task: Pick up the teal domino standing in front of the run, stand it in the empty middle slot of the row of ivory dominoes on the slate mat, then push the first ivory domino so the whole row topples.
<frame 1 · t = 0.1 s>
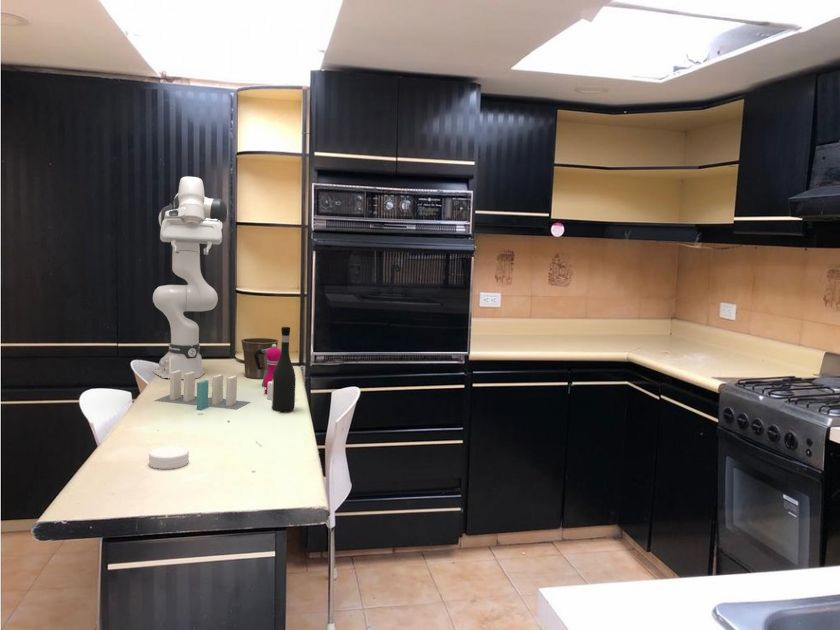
hand: (191, 253, 228), 54 cm above the table, tool tilted 30°, fingers open, 8 cm apart
ivory domino 2: (189, 399, 244), resting on slate mat
plant pot: (258, 376, 294), on the table
wine bottle: (282, 410, 239), on the table
coaster: (168, 464, 178), on the table
pepper mill: (272, 394, 262), on the table
ivory domino 4: (217, 402, 243), resting on slate mat
slate mat: (203, 402, 244), on the table
ivory domino 5: (231, 404, 242), resting on slate mat
teal domino: (202, 409, 234), on the table
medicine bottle: (280, 401, 253), on the table
ivory domino 1: (175, 398, 245), resting on slate mat
coffeepot: (270, 386, 276), on the table
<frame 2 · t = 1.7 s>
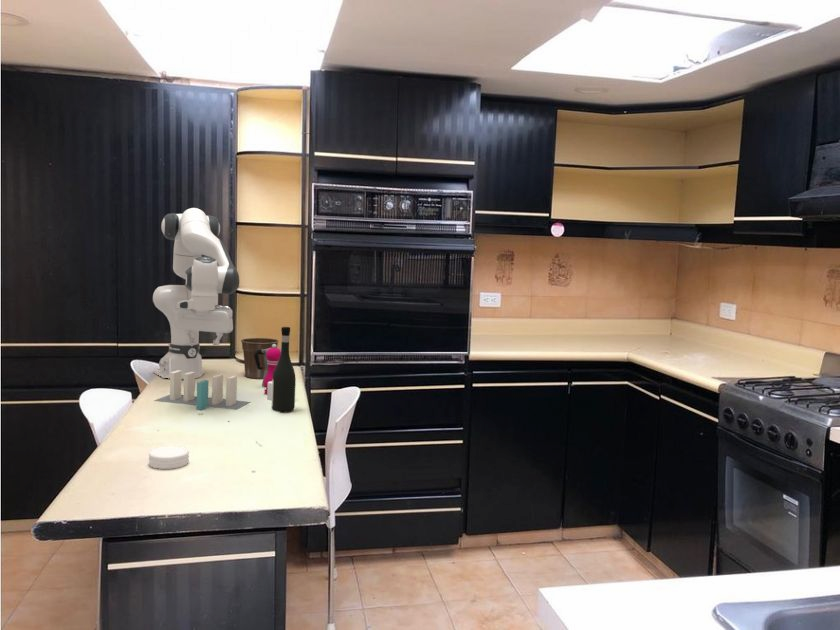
hand: (203, 344, 231), 23 cm above the table, tool pointing down, fingers open, 8 cm apart
nothing on the table moved.
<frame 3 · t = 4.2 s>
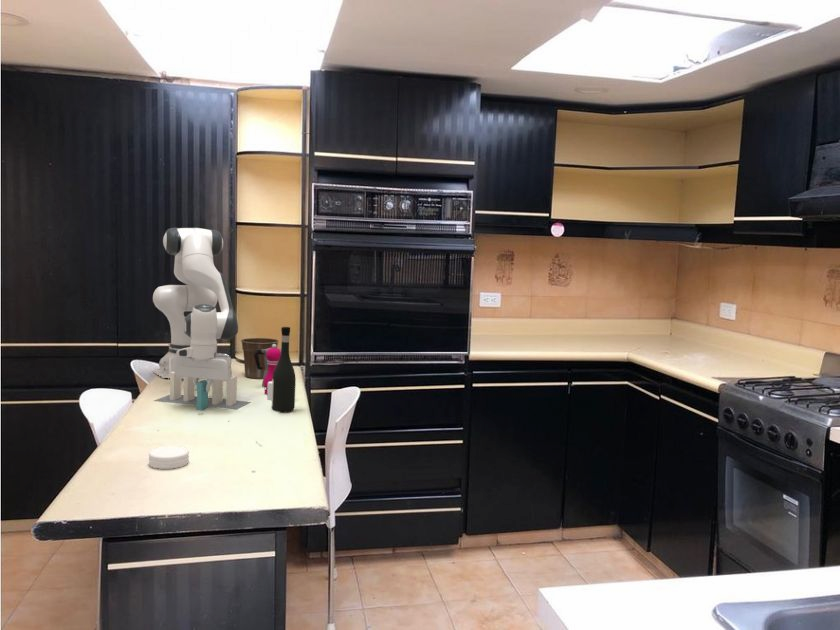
hand: (202, 390, 233), 7 cm above the table, tool pointing down, fingers closed on teal domino, 2 cm apart
teal domino: (202, 409, 234), on the table, touching gripper
everything else where it was.
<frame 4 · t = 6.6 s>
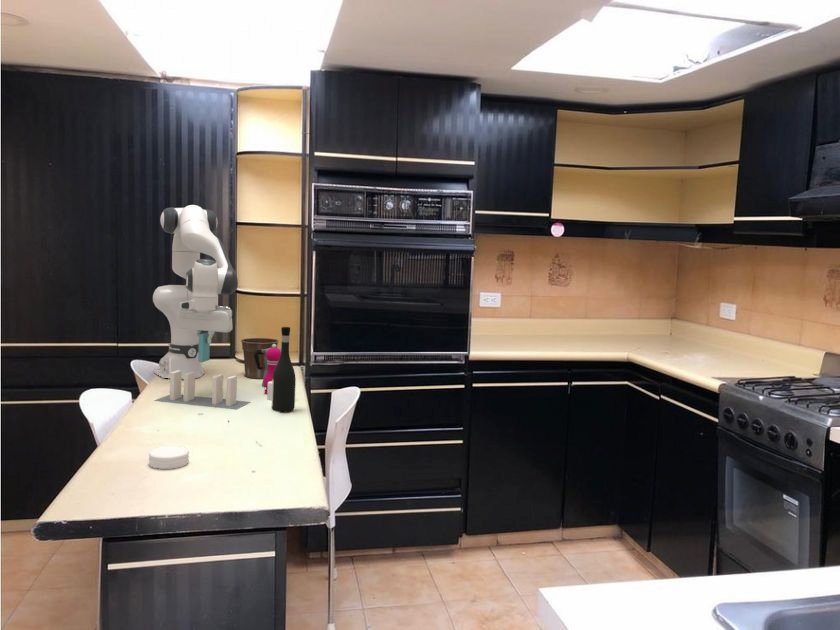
hand: (204, 342, 241), 22 cm above the table, tool pointing down, fingers closed on teal domino
teal domino: (203, 360, 242), point 15 cm above the table, touching gripper
everything else where it was.
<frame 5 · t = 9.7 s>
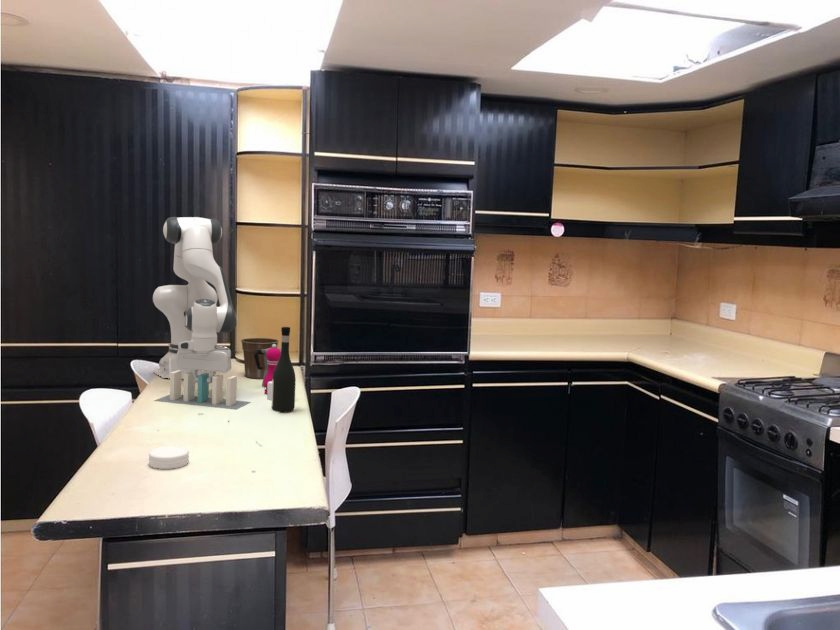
hand: (203, 382, 243), 7 cm above the table, tool pointing down, fingers open, 3 cm apart
teal domino: (202, 401, 243), resting on slate mat
everything else where it was.
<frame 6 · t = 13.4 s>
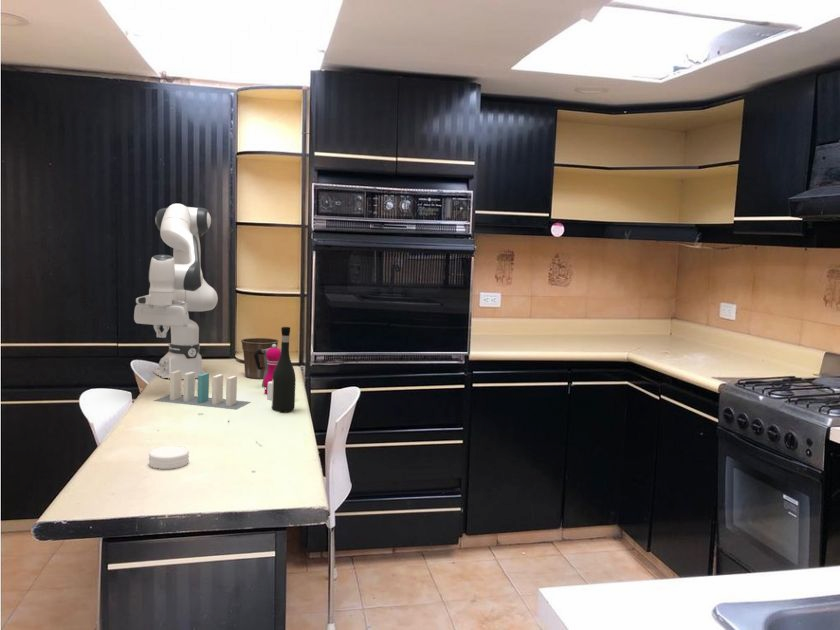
hand: (161, 337, 244), 23 cm above the table, tool pointing down, fingers closed
nothing on the table moved.
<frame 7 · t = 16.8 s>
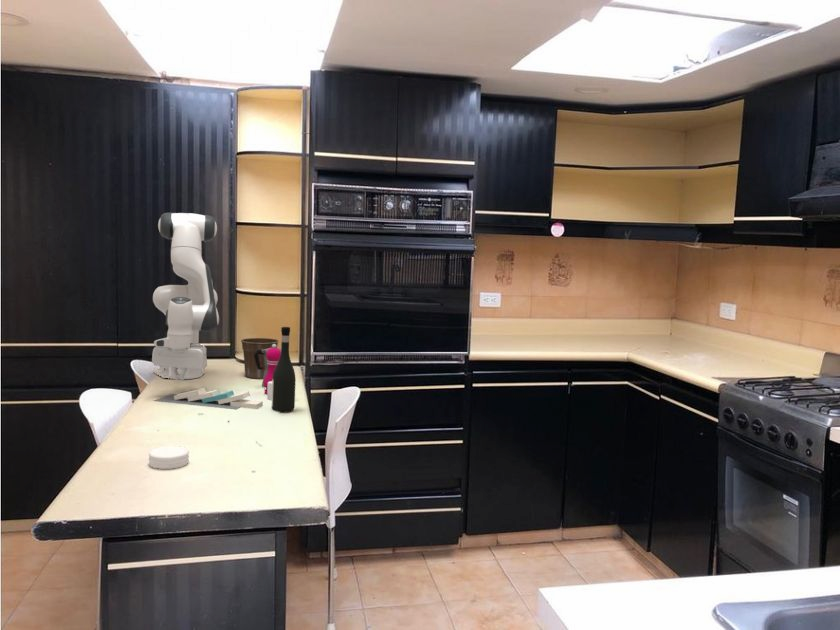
hand: (179, 379, 244), 8 cm above the table, tool pointing down, fingers closed
ivory domino 2: (191, 398, 244), point 1 cm above the table, tilted 73°, touching ivory domino 1, slate mat, teal domino
ivory domino 4: (221, 400, 242), point 1 cm above the table, tilted 72°, touching ivory domino 5, teal domino
ivory domino 5: (233, 402, 241), point 1 cm above the table, tilted 90°, touching ivory domino 4, slate mat
teal domino: (205, 399, 243), point 1 cm above the table, tilted 73°, touching ivory domino 2, ivory domino 4, slate mat
ivory domino 1: (177, 396, 245), point 1 cm above the table, tilted 73°, touching ivory domino 2, slate mat
everything else where it was.
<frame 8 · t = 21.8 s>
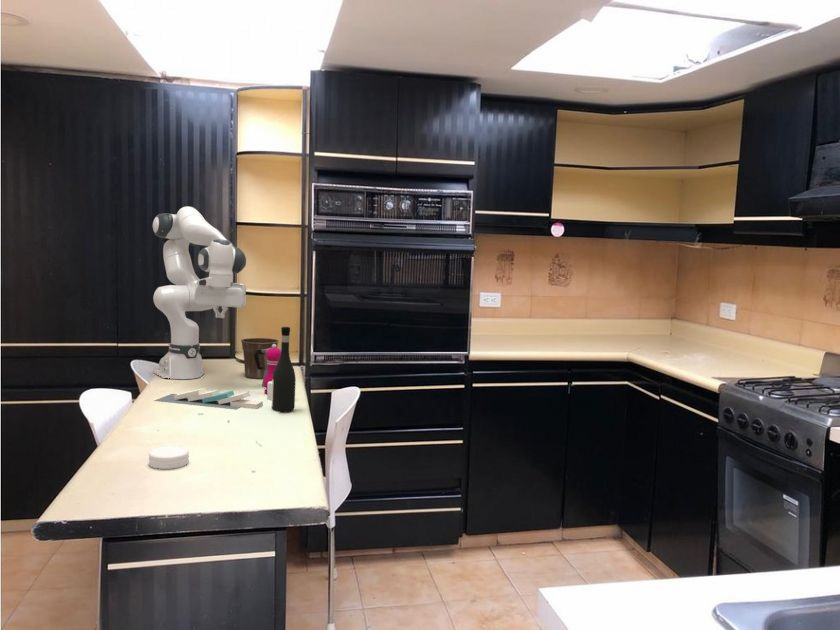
hand: (220, 317, 259), 29 cm above the table, tool pointing down, fingers closed
nothing on the table moved.
at the end: ivory domino 5 tilted 90°; teal domino tilted 73° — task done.
